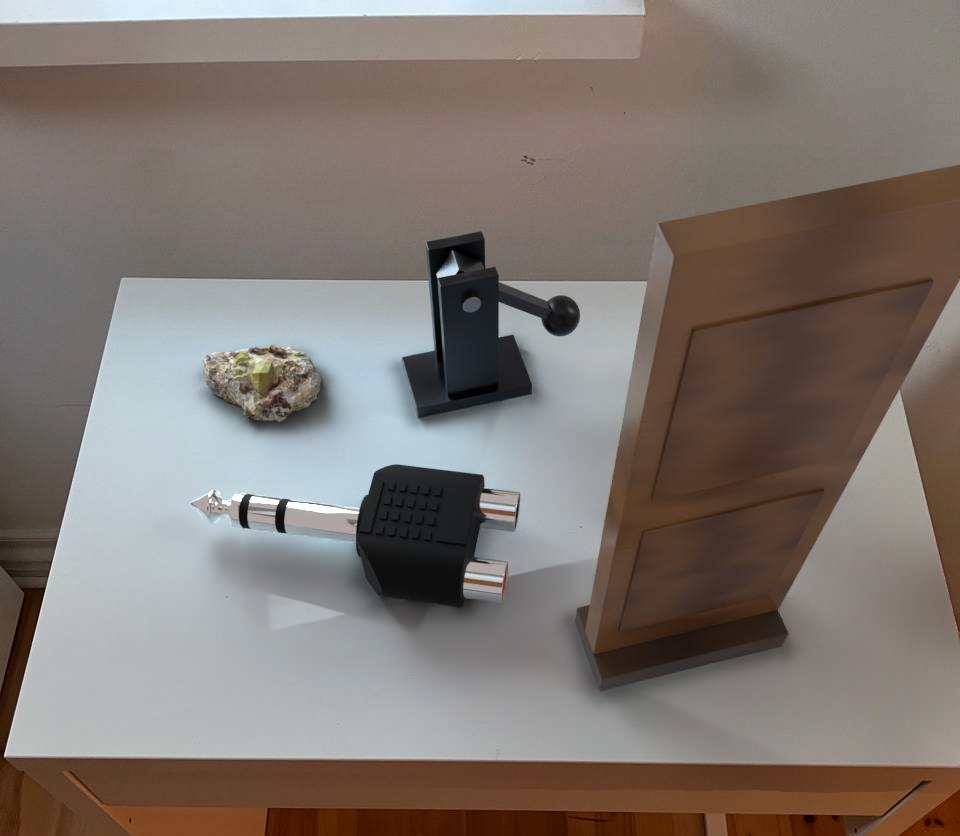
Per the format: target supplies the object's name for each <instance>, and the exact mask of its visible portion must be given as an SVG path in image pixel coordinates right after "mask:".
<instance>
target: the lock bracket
mask: <svg viewBox="0 0 960 836" xmlns="http://www.w3.org/2000/svg"><path fill="white" fill-rule="evenodd" d="M452 250H454V251H456V252H458V253H461V254H463V255H466V256H468V257H471V258H473V259H476V260H478V261H481V262H482V264H483V266H484V269H481V270H476V271H470V272H465V273H460V274H455V275H450V276H445V277H440V278H438V279H437V276H436V274H437V272H438V271H439V269H440V268H441V266H442V265H443V263H444V262H445V260H446V259H447V257H448V256H449V254H450V253H451V251H452ZM425 255H426V265H427V277H428V279H427V280H428V289H429V291H428V292H429V301H430V303H429V304H430V314H431V315H430V316H431V326H432V338H433V350H431V351H426V352H420V353H415V354H411V355H406V356H402V357H401V362H402V368H403V372H404V376H405V378H406V383H407V386H408V390H409V393H410V396H411V399H412V402H413V407H414V409H415V412H416V416H417V419H421V418H425V417H430V416H435V415H440V414H445V413H450V412H454V411H459V410H463V409H469V408H472V407H473V408H474V407H479V406H482V405H487V404H492V403H497V402H501V401H507V400H511V399H515V398H520V397H526V396H530V395H532V394H533V383H532V379H531V377H530V375H529V373H528V370H527V366H526V364H525V361H524V359H523V356H522V353H521V351H520V347H519V346H518V343H517V340H516V337H515V334H509V335H504V336H500V335H499V334H500V332H499V331H500V327H499V325H500V322H499V321H500V320H499V319H500V317H499V316H500V315H499V314H500V313H499V311H500V302H499V282H500V275H499V272H498V269H497V267H496V266H492V267H491V266H490V267H487V268H486V238H485V236H484V234H483V231H481V230H480V231H476V232H470V233H464V234H460V235H454V236H449V237H444V238H438V239H434V240H428V241H425Z"/></svg>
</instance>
